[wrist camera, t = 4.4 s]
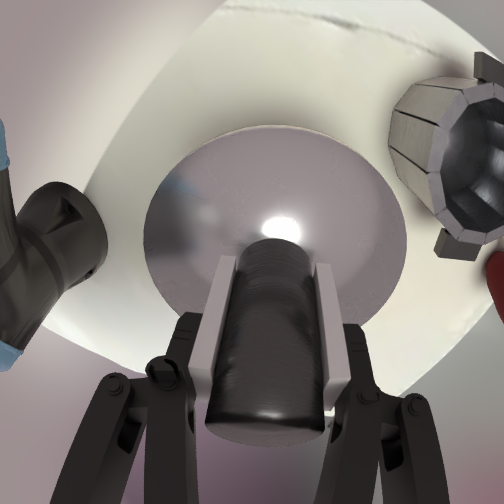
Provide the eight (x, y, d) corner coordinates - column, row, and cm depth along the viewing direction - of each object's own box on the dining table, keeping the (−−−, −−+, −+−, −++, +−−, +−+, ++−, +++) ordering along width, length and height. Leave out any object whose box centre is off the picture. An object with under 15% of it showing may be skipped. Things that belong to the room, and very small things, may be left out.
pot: (374, 211, 29) (400, 259, 21) (398, 40, 18) (443, 28, 11) (468, 226, 28) (504, 269, 20) (500, 84, 17) (552, 97, 10)
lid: (175, 314, 22) (129, 446, 13) (148, 121, 14) (-25, 218, 4) (358, 328, 22) (380, 465, 12) (415, 141, 13) (568, 264, 3)
